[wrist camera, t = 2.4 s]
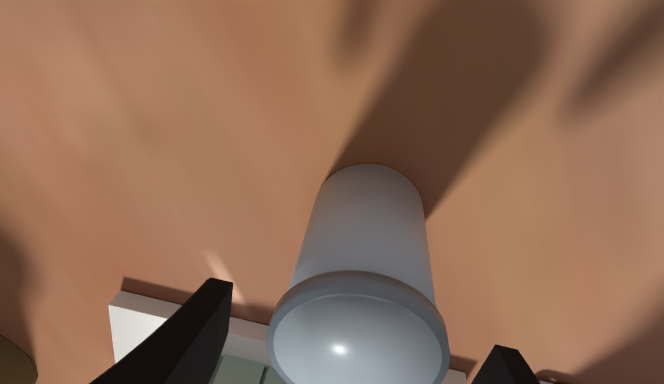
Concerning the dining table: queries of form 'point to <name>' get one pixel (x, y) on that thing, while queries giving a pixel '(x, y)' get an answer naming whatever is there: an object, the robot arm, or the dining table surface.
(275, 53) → the dining table surface
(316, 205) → the tube
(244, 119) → the dining table surface
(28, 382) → the cork
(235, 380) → the white base plate
